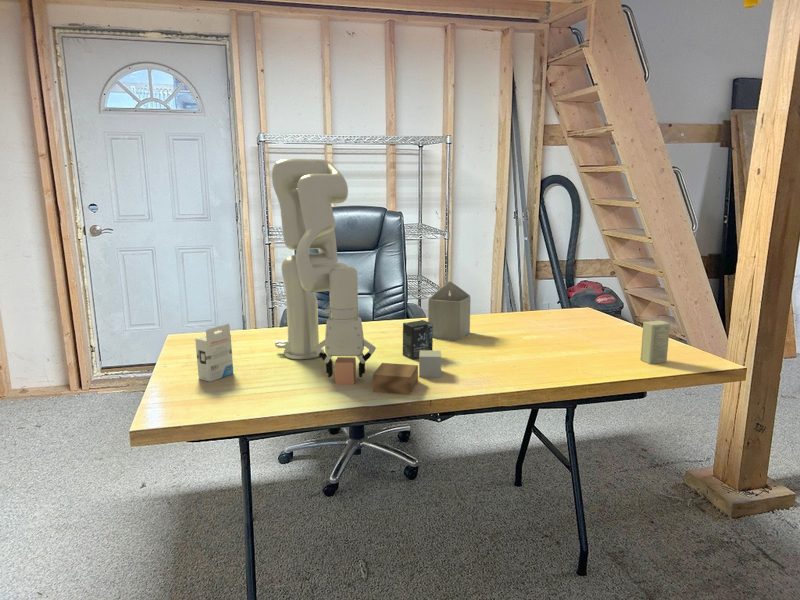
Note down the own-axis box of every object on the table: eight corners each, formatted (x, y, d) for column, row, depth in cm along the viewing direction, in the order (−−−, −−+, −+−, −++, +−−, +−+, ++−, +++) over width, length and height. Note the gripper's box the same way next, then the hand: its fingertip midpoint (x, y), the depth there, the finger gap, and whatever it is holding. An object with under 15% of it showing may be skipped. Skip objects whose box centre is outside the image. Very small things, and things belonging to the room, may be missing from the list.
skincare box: (657, 358, 172) (660, 319, 170) (667, 362, 168) (671, 323, 166) (639, 360, 171) (642, 321, 168) (649, 364, 167) (652, 324, 164)
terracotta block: (335, 384, 152) (334, 362, 151) (338, 377, 157) (337, 357, 156) (353, 384, 152) (353, 362, 150) (356, 377, 156) (355, 357, 155)
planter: (437, 342, 191) (437, 286, 187) (427, 336, 198) (428, 282, 194) (479, 337, 197) (480, 283, 193) (469, 332, 204) (470, 279, 200)
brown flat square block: (372, 392, 146) (372, 374, 145) (382, 380, 155) (382, 362, 154) (410, 395, 144) (410, 377, 143) (417, 382, 153) (417, 365, 152)
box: (412, 360, 172) (412, 326, 170) (402, 355, 177) (402, 322, 175) (433, 355, 176) (433, 322, 174) (422, 351, 181) (422, 319, 179)
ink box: (222, 370, 163) (218, 321, 160) (234, 373, 161) (230, 323, 158) (197, 379, 156) (193, 327, 153) (209, 382, 153) (205, 329, 150)
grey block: (419, 377, 157) (419, 356, 156) (419, 370, 163) (419, 350, 162) (440, 377, 157) (441, 356, 155) (440, 370, 162) (440, 350, 161)
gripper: (308, 316, 147) (311, 380, 151) (375, 316, 146) (376, 381, 150) (314, 309, 155) (317, 371, 158) (377, 310, 154) (378, 371, 157)
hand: (345, 375), depth 154 cm, fingers open, 7 cm apart
